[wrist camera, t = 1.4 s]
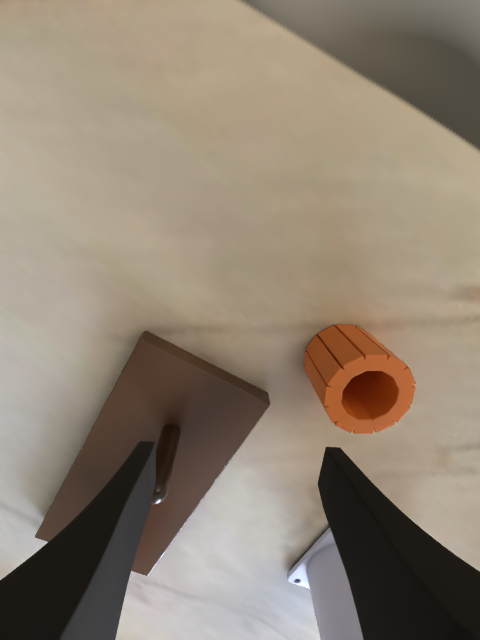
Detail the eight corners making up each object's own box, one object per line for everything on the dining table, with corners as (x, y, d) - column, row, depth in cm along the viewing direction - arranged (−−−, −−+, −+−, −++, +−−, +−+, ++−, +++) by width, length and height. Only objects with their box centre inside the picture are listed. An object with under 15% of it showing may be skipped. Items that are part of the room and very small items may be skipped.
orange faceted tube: (390, 346, 22) (434, 381, 17) (346, 400, 23) (376, 446, 19) (332, 311, 21) (362, 338, 16) (290, 370, 22) (306, 411, 18)
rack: (268, 392, 23) (284, 465, 16) (151, 558, 28) (127, 666, 21) (145, 330, 21) (106, 383, 14) (44, 520, 26) (-20, 625, 19)
